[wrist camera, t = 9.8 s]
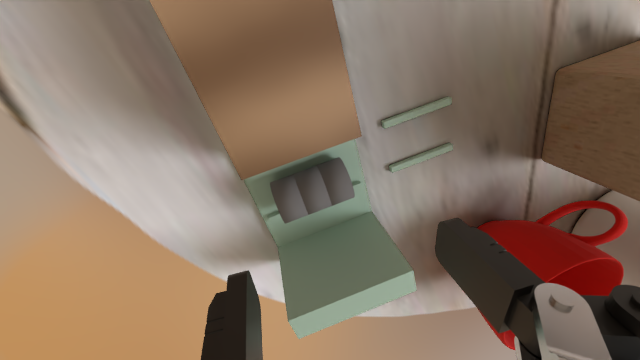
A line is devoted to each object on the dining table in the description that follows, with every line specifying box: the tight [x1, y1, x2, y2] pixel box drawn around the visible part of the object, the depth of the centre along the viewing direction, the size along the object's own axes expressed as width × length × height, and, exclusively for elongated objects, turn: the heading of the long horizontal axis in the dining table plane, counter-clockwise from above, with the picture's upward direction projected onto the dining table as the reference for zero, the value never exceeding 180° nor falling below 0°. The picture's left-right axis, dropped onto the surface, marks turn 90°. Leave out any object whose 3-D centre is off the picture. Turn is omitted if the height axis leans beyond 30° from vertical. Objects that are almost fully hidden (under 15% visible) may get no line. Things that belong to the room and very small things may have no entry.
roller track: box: [244, 139, 417, 339], centre depth 18 cm, size 27×10×9 cm, turn 16°
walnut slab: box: [150, 0, 361, 180], centre depth 13 cm, size 12×7×3 cm, turn 16°
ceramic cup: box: [477, 200, 628, 350], centre depth 30 cm, size 13×17×10 cm
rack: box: [381, 97, 453, 173], centre depth 25 cm, size 5×6×1 cm
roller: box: [270, 157, 355, 224], centre depth 22 cm, size 4×6×4 cm, turn 106°
